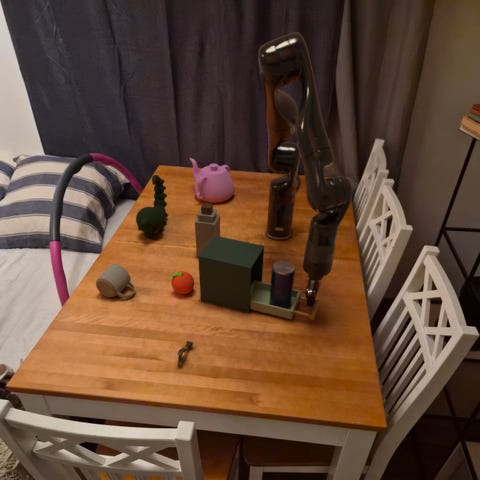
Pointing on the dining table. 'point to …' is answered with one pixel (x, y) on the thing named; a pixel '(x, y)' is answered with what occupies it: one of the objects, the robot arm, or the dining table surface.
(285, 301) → the navy can
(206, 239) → the perfume bottle
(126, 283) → the ceramic mug
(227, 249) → the cubby
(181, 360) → the dark brown angled piece
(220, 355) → the dining table surface
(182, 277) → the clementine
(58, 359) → the dining table surface
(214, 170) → the teapot
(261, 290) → the drawer
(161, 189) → the toy figurine
